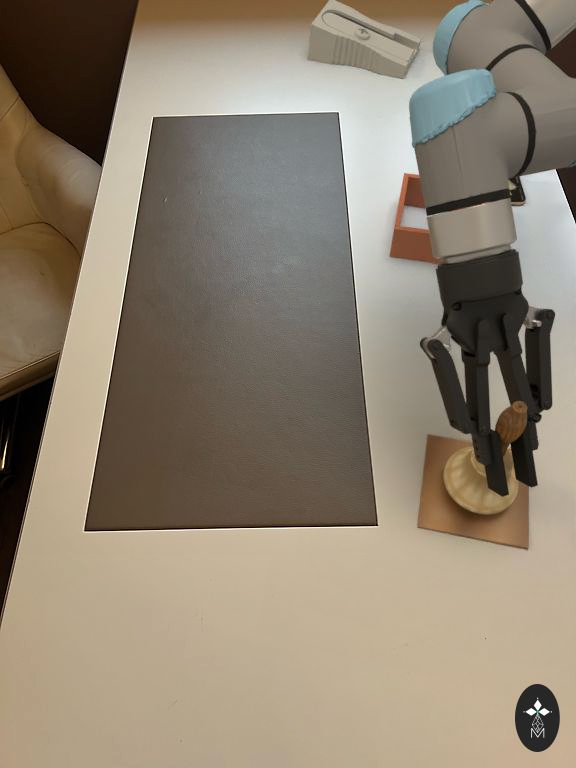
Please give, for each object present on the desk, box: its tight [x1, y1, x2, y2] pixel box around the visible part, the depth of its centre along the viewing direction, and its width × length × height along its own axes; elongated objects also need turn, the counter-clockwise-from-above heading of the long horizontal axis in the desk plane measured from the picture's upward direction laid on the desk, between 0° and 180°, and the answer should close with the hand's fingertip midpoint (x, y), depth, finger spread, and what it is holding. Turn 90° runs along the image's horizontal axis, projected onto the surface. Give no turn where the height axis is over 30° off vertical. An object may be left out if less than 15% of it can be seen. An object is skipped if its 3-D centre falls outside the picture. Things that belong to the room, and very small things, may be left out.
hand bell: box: [443, 401, 527, 514], centre depth 64 cm, size 8×8×16 cm
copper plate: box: [417, 433, 530, 550], centre depth 72 cm, size 12×12×1 cm
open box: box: [389, 172, 488, 265], centre depth 94 cm, size 13×13×6 cm
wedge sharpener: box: [307, 0, 422, 79], centre depth 123 cm, size 11×20×7 cm, turn 68°
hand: (512, 486), depth 63 cm, fingers closed on hand bell, 2 cm apart
